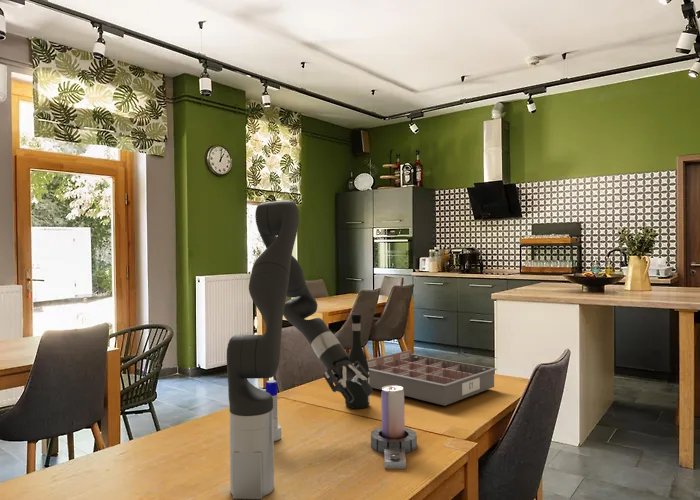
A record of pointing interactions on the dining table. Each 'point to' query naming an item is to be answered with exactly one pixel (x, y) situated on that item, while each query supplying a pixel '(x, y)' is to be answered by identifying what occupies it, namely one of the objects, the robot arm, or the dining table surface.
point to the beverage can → (393, 412)
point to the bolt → (274, 408)
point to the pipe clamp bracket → (394, 447)
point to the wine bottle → (358, 355)
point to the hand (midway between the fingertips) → (361, 397)
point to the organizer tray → (429, 377)
